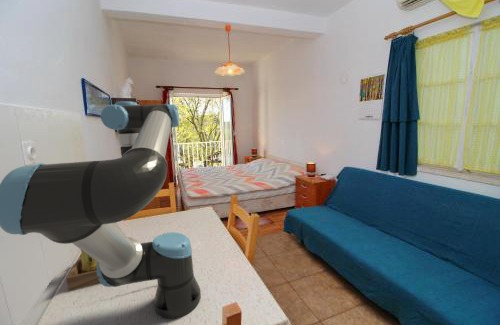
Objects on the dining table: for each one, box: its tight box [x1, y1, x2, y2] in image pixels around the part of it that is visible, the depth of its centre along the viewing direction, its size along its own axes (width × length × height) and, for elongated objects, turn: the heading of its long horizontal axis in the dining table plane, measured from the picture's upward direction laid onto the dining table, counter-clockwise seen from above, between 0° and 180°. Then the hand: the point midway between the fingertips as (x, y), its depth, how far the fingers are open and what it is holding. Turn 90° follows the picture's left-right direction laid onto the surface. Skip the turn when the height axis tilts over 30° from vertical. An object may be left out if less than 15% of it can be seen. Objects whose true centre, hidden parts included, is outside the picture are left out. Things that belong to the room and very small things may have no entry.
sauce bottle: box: [80, 249, 97, 273], centre depth 95 cm, size 7×6×20 cm
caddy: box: [66, 253, 101, 292], centre depth 98 cm, size 20×22×6 cm
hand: (138, 200), depth 88 cm, fingers open, 13 cm apart
